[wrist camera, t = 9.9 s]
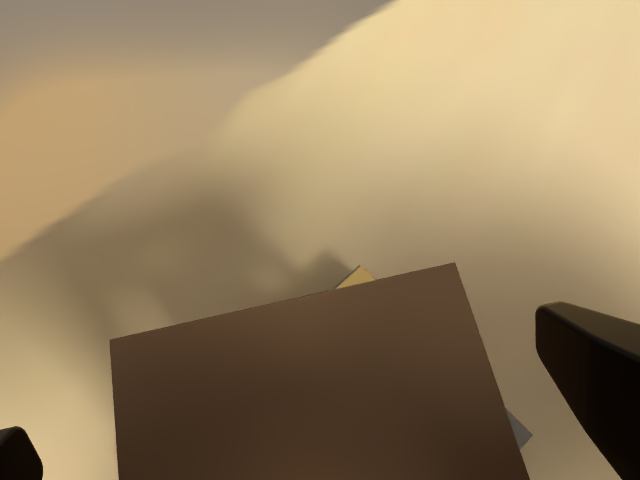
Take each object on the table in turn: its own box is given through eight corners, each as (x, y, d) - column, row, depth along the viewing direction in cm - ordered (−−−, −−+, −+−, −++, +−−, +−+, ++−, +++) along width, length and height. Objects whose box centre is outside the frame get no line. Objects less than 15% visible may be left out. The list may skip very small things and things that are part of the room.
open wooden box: (437, 533, 17) (602, 688, 7) (259, 578, 16) (141, 819, 6) (388, 353, 19) (454, 262, 9) (231, 390, 19) (109, 339, 8)
